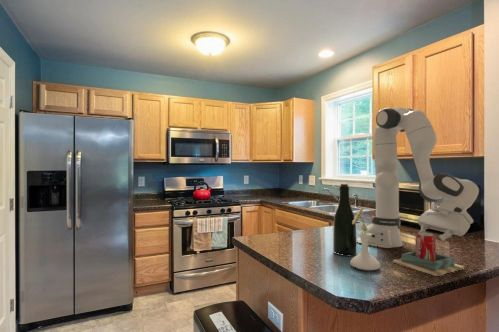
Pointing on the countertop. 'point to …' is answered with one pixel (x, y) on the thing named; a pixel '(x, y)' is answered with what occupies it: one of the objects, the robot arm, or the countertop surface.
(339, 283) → the countertop surface
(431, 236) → the soda can
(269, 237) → the countertop surface
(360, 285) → the countertop surface
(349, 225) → the dark green wine bottle
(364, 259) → the flower in vase
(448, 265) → the tray
